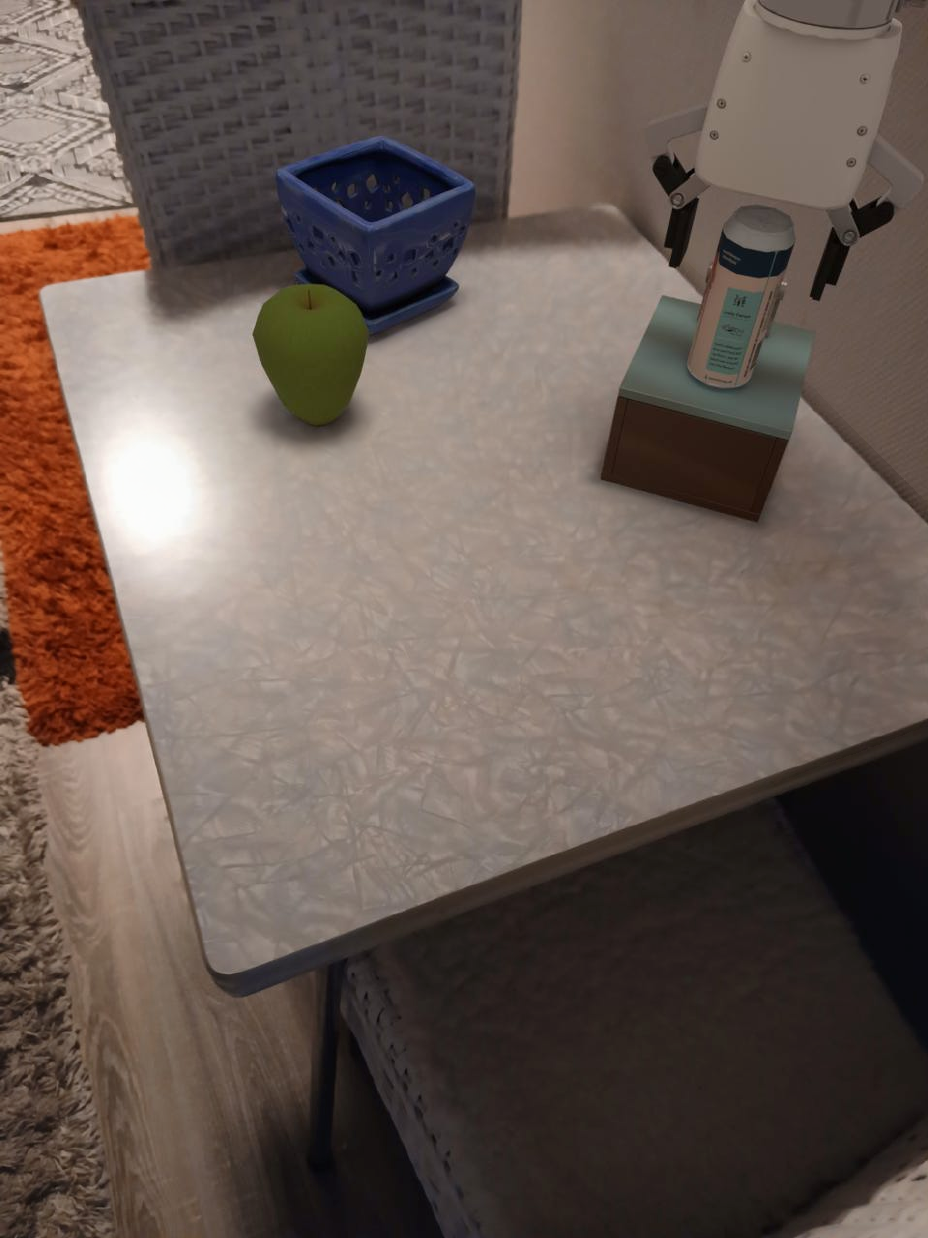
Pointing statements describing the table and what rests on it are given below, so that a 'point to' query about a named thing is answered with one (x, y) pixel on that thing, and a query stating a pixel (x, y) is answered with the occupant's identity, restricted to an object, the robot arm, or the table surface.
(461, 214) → the flower pot
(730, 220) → the beer can
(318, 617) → the table surface
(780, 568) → the table surface
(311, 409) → the apple
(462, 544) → the table surface
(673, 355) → the lid
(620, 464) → the chest
